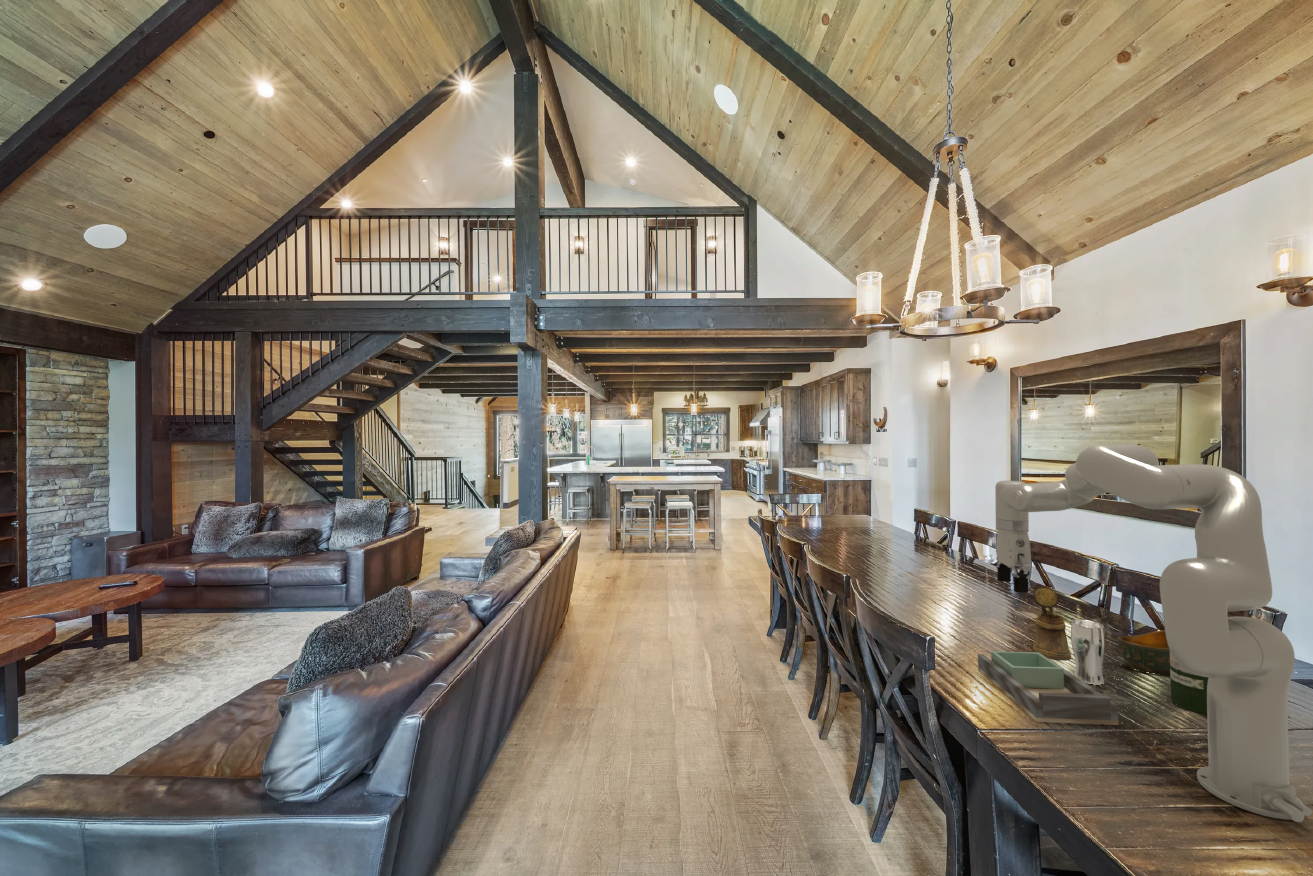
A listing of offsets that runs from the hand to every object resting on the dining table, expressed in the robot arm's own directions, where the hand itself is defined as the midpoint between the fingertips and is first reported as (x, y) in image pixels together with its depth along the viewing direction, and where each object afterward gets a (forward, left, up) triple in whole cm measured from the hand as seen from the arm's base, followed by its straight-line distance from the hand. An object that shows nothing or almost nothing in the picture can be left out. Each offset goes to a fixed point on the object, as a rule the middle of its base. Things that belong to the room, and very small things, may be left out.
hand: (1012, 586), depth 142 cm
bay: (-14, +1, -23) cm, 27 cm away
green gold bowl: (+3, -40, -23) cm, 46 cm away
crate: (-8, +1, -22) cm, 23 cm away
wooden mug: (+14, -18, -23) cm, 32 cm away
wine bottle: (-17, -31, -23) cm, 42 cm away
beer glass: (-5, -16, -23) cm, 28 cm away
